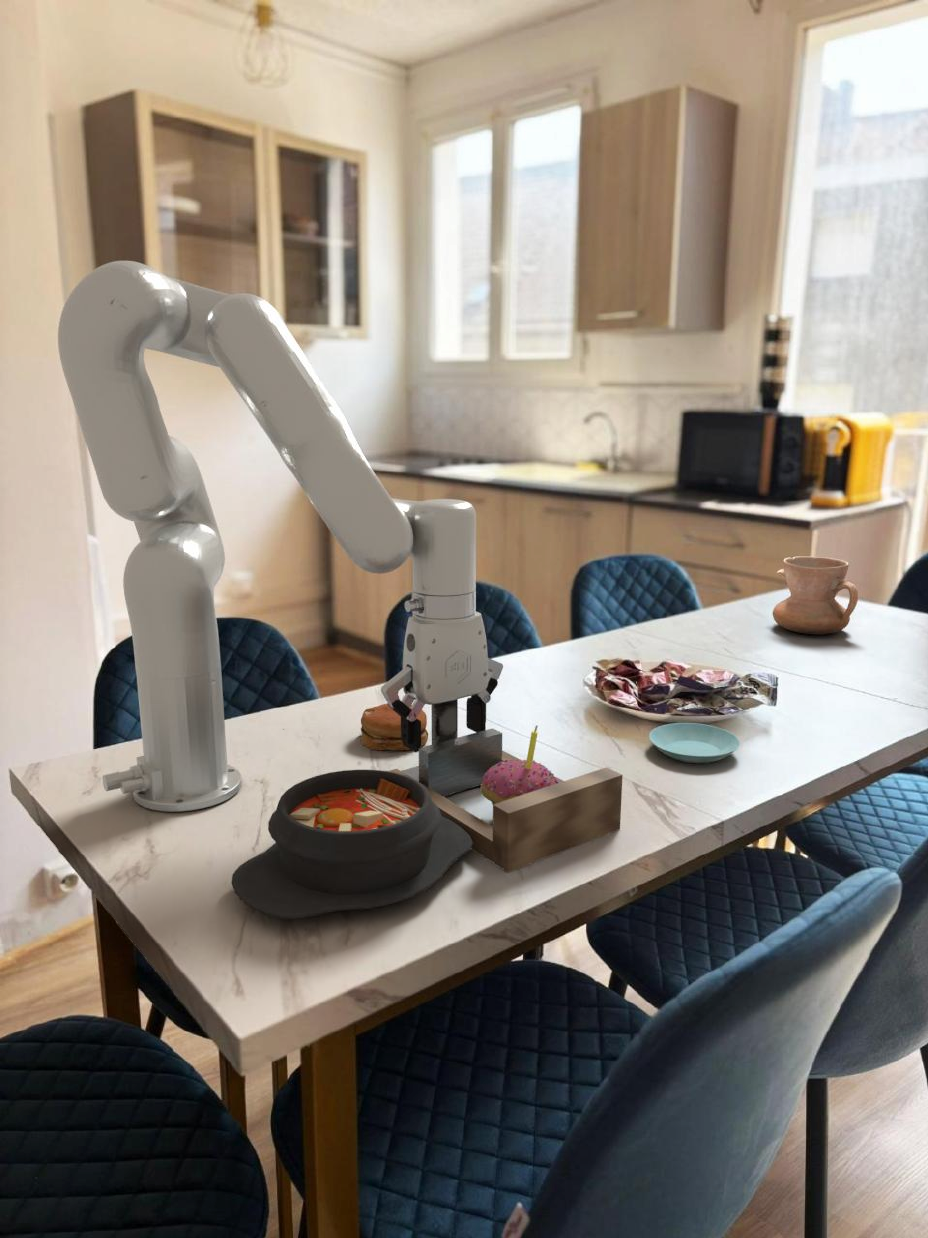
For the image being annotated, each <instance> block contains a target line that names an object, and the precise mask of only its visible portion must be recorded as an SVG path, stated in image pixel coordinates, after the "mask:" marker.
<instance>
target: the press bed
mask: <svg viewBox="0 0 928 1238" xmlns="http://www.w3.org/2000/svg"><path fill="white" fill-rule="evenodd" d="M506 760H509V761H510V760H511V761H512V760H522V759H520V758H518V757H516V756H515V755H513V754H511V753H508V752H506V751H505V750H503V749H502V761H506ZM386 771H387V772H393V773H398V774H401V775H404V776H408V775H407V774H405V773H403V772H402V770H400V769H399V768H393V769H391V770H386ZM408 777H410V776H408ZM554 777H555V778H556V780H557V779H558V781H557V782H558V783H557V784H554V785H551V786H548V787H545V788H542V789H539V790H536V791H533V792H530V793H527V794H524V795H521V796H518V797H514V798H511V799H508V800H505V801H502V802H499V803H496V804H492V825H491V824H489V823H487V822H486V821H484V820H482V818H481V819H480V818H479V817H478V816H476V815H474V814H472V813H471V812H469V811H468V810H466V809H464V808H463V807H461V806H460V805H458V804H456V803H454V802H453V801H451V800H449V799H448V798H446V797H445V796H441V795H440V794H438V793H436V792H435V791H433V790H431V789H430V788H428V787H426V786H425V785H424V786H425V788H426V789H427V790H428V791H429V794H430V796H431V799H432V801H433V802H434V803H435V804H436V805H437V807H438V808H439V810H440V813H441V816H443V817H445V818H447V819H449V820H451V821H453V822H455V823H456V824H458V825H459V826H460V827H462V828H463V829H464V830H465V831H466V832H467V833H468V834H469V835H470V837H471V839H472V842H473V844H472V847H471V850H473V851H474V852H475V853H477V854H479V855H480V856H481V857H483V858H485V859H487V861H489V862H491V864H493V865H495V866H497V867H498V868H500V869H502V870H503V871H504V872H506V873H511V872H512V871H515V870H518V869H520V868H523V867H525V866H528V865H531V864H533V863H534V864H535V863H536V862H539V861H541V860H544V859H546V858H549V857H552V856H554V855H557V854H560V853H561V852H562V853H563V852H565V851H567V850H569V849H572V848H574V847H577V846H580V845H583V844H586V843H588V842H590V841H593V840H596V839H598V838H601V837H603V836H606V835H608V833H609V834H611V833H614V832H617V831H619V830H620V829H621V816H622V814H621V813H622V795H623V794H622V793H623V774H622V773H619V772H617V771H615V770H614V769H611V768H609V767H606V766H605V767H603V768H600V769H597V770H594V771H592V772H588V773H584V774H583V775H579V776H575V777H573V778H569V779H567V780H563V779H561V778H558V777H557V776H555V775H554ZM410 778H412V777H410ZM412 779H413V778H412ZM414 780H415V779H414ZM419 783H420V782H419ZM422 785H423V784H422ZM616 830H617V831H616ZM610 832H611V833H610ZM530 863H531V864H530Z"/></svg>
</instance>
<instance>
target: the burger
mask: <svg viewBox="0 0 928 1238" xmlns="http://www.w3.org/2000/svg"><path fill="white" fill-rule="evenodd" d="M411 706H412V705H411ZM411 706H410V708H411ZM416 719H418V720H420V721H421V747H423V746H424V745H426V743H427V741H428V740H429V732H428V731H427V724H428V723H427V720H428V719H427V714H426V712H425V711H424V710H423V709H422V710H421V712H420V713H419V715H418V716H417V718H416ZM360 724H361V727H360V731H361V736H360V743H361V744H362V745H363V747H365V748H368V749H371V750H375V751H386V750H388V751H394V752H397V751H412V750H411V749H409V748H407V747H405V746H404V745H403V742H402V740H401V716H399V715H397V713H396V712H395V711H394V710H393V709H391V708H390V707H389V706H388V702H387V703H382V704H380V705H377V706H373V707H369V708H366V709H365V710H364V711H363V712H362V715H361V718H360Z"/></svg>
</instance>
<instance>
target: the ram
mask: <svg viewBox="0 0 928 1238" xmlns="http://www.w3.org/2000/svg"><path fill="white" fill-rule="evenodd" d="M458 700H459V699H456V700H452V701H447V702H443V703H439V704H433V705H431V744H429V745H426V746H421V748H419V751H418V765H415V766H414V767H410V768H407V769H402V770H401V771H402V772H403V773H405V774H407V775H408V776H410V777H412V778H413V779H415V780H417V781H418V782H420V783H421V784H423V785H425V786H426V787H428V788H430V789H431V790H433V791H435V792H436V793H438V794H440V795H441V796H443V797H445V796H449V795H453V794H456V793H459V792H463V791H465V790H468V789H472V788H475V787H479V786H481V784H482V781H483V776H484V775H485V773H486V772H487V771H486V770H488V769H489V768H491V767H492V766H493V765H496V764H498V763H499V762H502V750H503V732H501V731H499V730H496V729H495V728H488V729H486V730H484V731H480V732H473V733H471V734H466V735H462V736H458V734H459V733H458V730H459V729H458V727H459V726H458V724H459V722H458V720H459V719H458V718H459V717H458V715H459V714H458V710H459V709H458V707H459V705H458V704H459V703H458Z"/></svg>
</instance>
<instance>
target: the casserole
mask: <svg viewBox="0 0 928 1238" xmlns="http://www.w3.org/2000/svg"><path fill="white" fill-rule="evenodd" d="M387 771H388V770H378V769H348V770H347V769H346V770H338V771H333V772H327V773H323V774H318V775H315V776H312V777H309V778H307V779H304V780H301V781H300V782H298V783H296V784H294V785H293V786H291V787H289V788H288V789H287V790H286V791H284V793H283V794H282V795H281V796H280V799H279V800H278V803H277V806H276V808H275V810H274V812H273V813H272V814H271V816H270V818H269V820H268V824H267V825H268V826H267V830H268V832H269V835H270V837H271V839H272V840H273V841H274V844H272V845H271V846H269V847H268V848H267V849H266V850H265V851H263V852H261V853H259V854H257V855H256V856H253V857H252V858H249V859H248V860H246V861H244V862H243V863H241V864H240V865H238V867H237V868H236V870H234V872H233V874H232V875H231V885H232V888H233V892H234V893H235V895H237V897H238V899H240V901H241V902H242V903H244V904H245V905H247V906H248V907H250V908H251V909H253V910H254V911H258V912H259V913H262V914H264V915H267V916H271V917H275V918H279V919H284V920H287V919H290V920H291V919H295V920H296V919H302V918H304V919H305V918H311V917H314V916H318V915H323V914H327V913H331V912H339V911H340V912H341V911H351V910H361V909H362V910H363V909H373V908H378V907H379V908H380V907H383V906H387V905H391V904H395V903H398V902H403V901H404V900H407V899H411V898H412V897H414V896H416V895H419V894H421V893H423V892H425V891H427V890H428V889H429V888H430V887H432V886H434V884H436V883H437V882H438V881H439V880H440V879H441V878H442V877H443V876H444V874H445V873H446V872H447V871H448V869H449V868H450V867H451V866H452V865H453V864H454V863H455V862H456V861H458V860H459V859H460V858H462V857H463V856H465V855H466V854H468V853H469V852H470V851H471V850H472V849H471V847H472V844H473V842H472V839H471V837H470V835H469V834H468V833H467V832H466V831H465V830H464V829H463V828H462V827H460V826H459V825H458V824H456V823H455V822H453V821H451V820H449V819H447V818H445V817H443V816H441V813H440V810H439V808H438V807H437V805H436V804H435V803H434V802H433V801H432V799H431V796H430V794H429V791H428V790H427V789H426V788H425V786H424V785H422V784H421V783H419V782H418V781H417V780H414V779H412V778H410V777H408V776H404V775H401V774H398V773H393V772H387Z"/></svg>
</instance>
